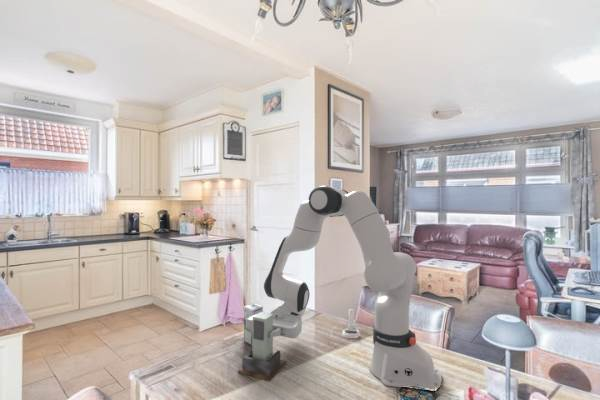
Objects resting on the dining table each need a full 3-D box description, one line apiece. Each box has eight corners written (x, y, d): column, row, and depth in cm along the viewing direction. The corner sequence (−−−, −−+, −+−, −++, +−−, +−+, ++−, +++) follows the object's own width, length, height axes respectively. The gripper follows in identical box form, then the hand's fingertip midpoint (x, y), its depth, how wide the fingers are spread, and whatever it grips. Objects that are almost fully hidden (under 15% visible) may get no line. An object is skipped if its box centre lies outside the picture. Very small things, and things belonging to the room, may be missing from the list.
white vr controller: (355, 314, 143) (361, 310, 138) (356, 343, 136) (363, 339, 131) (339, 312, 142) (345, 307, 137) (339, 340, 135) (346, 337, 129)
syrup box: (263, 341, 128) (263, 305, 128) (251, 346, 124) (251, 309, 124) (254, 337, 132) (254, 302, 132) (243, 341, 128) (243, 305, 128)
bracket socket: (286, 363, 111) (286, 349, 111) (269, 381, 100) (269, 365, 100) (257, 356, 116) (257, 342, 116) (238, 372, 105) (238, 357, 105)
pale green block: (272, 354, 109) (273, 314, 109) (264, 362, 104) (264, 319, 104) (260, 351, 111) (260, 311, 111) (251, 358, 106) (251, 317, 106)
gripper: (257, 307, 124) (236, 319, 111) (305, 315, 115) (288, 330, 103) (257, 323, 124) (236, 337, 112) (305, 332, 116) (288, 349, 103)
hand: (261, 334), depth 107 cm, fingers closed on pale green block, 5 cm apart
